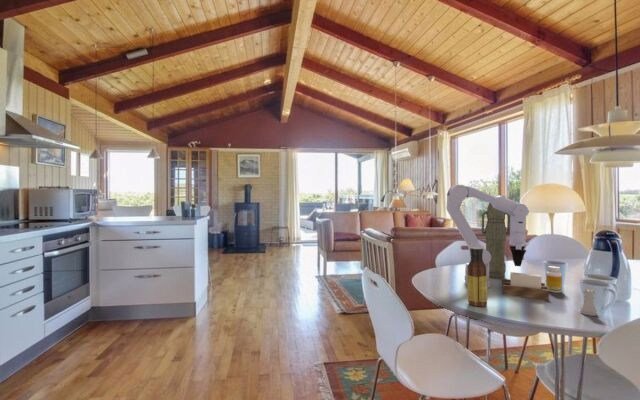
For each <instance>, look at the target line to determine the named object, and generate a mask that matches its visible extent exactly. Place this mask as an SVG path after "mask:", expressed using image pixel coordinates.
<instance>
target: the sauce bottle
mask: <svg viewBox="0 0 640 400" xmlns="http://www.w3.org/2000/svg"><path fill="white" fill-rule="evenodd" d="M470 252H471V256H470V261H469V262H468V263H469V264H468V274H467V283H468V285H467V302H468V304H469V305H471V306H472V307H473V306H474V307H478V308H480V307H486V306H487V305H488V287H487V275H486V266H485V264H484V262H483V259H482V253H483V248H479V247H471V248H470V251H469V253H470Z"/></svg>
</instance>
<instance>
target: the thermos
mask: <svg viewBox="0 0 640 400" xmlns="http://www.w3.org/2000/svg"><path fill="white" fill-rule="evenodd" d="M485 215H486V219H487V220H486V225H485ZM506 215H507V226H506V221H505V220H506ZM510 220H511V215H510V214H508V213H505V212H503V211H500V210H498V209H495V208H493V206H492V204H491V203H488V205H487V208H486V211H483V213H482V215H481V233H482V234H484V239H485V250H487V251H488V252H489V253H490V255H491V260H490V262H489V279H496V280H502V279H506V269H507V268H506V267H507V266H506V261H505V254H506V253H505V252H506V251H505V250H506V249H505V248H506V240H507V236H508V235H510Z"/></svg>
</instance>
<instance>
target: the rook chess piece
mask: <svg viewBox="0 0 640 400" xmlns="http://www.w3.org/2000/svg"><path fill="white" fill-rule="evenodd" d="M582 292H583V294H584V295H583V297H584V298H583V299H584V300H583V304H582V306H580V313H581V314H582V315H585V316H590V317H596V316H597V315H598V310H597V308H596V306H595V300H594V299H595V297H594V296H595V295H596V292H595V290H594V289H592V288H584V289H583V290H582Z"/></svg>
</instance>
